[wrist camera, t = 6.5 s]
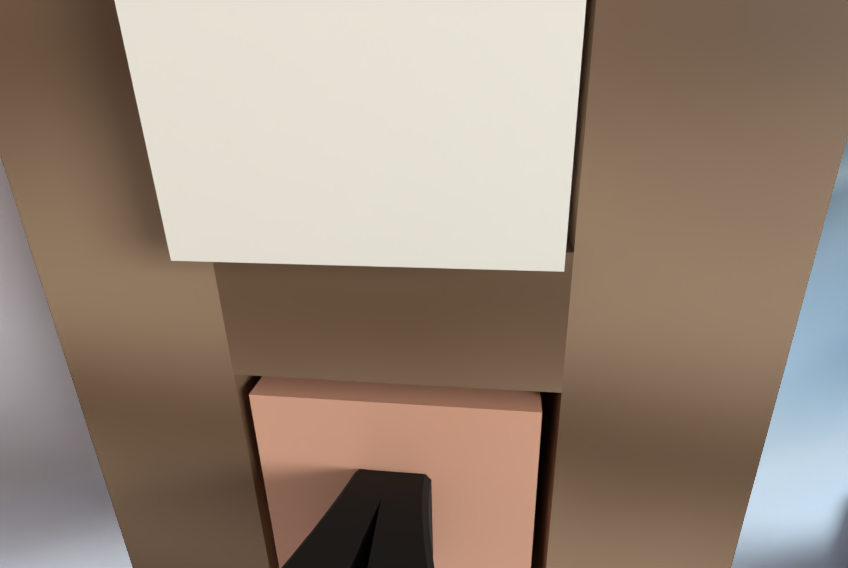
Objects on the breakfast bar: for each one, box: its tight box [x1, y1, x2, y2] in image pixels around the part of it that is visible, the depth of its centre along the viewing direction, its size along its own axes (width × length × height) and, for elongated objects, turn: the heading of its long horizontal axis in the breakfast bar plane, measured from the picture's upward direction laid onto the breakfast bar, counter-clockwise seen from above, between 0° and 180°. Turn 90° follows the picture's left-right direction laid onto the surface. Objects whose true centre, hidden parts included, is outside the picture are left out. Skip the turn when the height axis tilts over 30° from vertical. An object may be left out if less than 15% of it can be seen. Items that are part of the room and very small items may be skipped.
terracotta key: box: [249, 376, 542, 568], centre depth 12 cm, size 5×5×3 cm
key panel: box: [0, 0, 848, 568], centre depth 9 cm, size 24×12×4 cm, turn 1°
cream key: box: [114, 0, 586, 272], centre depth 7 cm, size 5×5×3 cm
